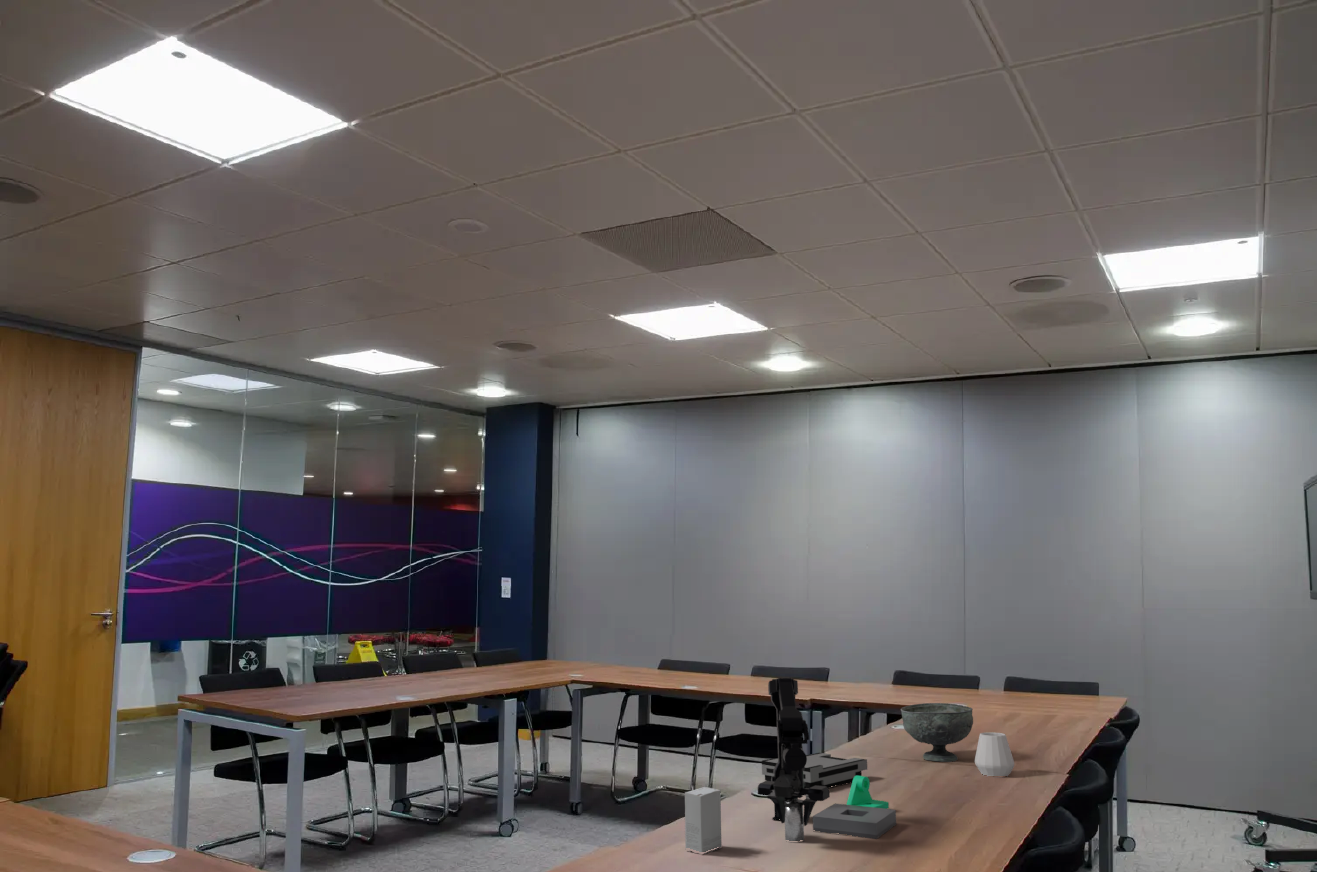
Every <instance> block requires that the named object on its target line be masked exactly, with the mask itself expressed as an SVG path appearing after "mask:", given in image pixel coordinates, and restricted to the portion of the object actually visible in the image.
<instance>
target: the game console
mask: <svg viewBox="0 0 1317 872" xmlns="http://www.w3.org/2000/svg"><path fill="white" fill-rule="evenodd" d="M831 755H832V754H831V753H823V752H816V753H811V754H806V757H807V762H806V765H805V766H804V767H805V771H803V778H804V782H805V787H804V788H811V787H813V786H815V785H816V786H826V787H831V786H835V785H840V786H843V785H842V784H844V785H847V784H846V783H848V784H851V783H850V782H852V781H853V778H854V777H855V776H856V775H857V776H863V775H862V771H866V770H868V759H866V758H859V757H851V758H841V757H834V756H831ZM777 762H778V757H773V758H768V759H764V760H763V759H762V760H761V775H763V776H764V781H771V777H772V776H773V770H774V768H775V766H776V764H777Z"/></svg>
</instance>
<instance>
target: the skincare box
mask: <svg viewBox="0 0 1317 872" xmlns="http://www.w3.org/2000/svg"><path fill="white" fill-rule="evenodd" d="M721 794H722V793H721V789H716V788H713V787H708V786H703V787H700V788H696V789H694V790H690V791H685V792H684V819H685V820H684V822H685V823H684V824H685V825H684V827H685V828H684V829H685V831H684V832H685V833H684V835H685V836H684V837H685V839H684V841H685V849H686V848H690V849H693V850H696V851H699V852H706V851H708V850H711V849H714V848H717V847H722V846H723V845H722V843H723V842H722V806H721V803H722V802H721V801H722V800H721V799H722V796H721ZM722 848H723V847H722Z"/></svg>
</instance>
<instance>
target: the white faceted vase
mask: <svg viewBox="0 0 1317 872" xmlns="http://www.w3.org/2000/svg"><path fill="white" fill-rule="evenodd" d="M974 764H975V766H976V768H977V770H978V771H979V772H980V774H981V775H982V774H983V775H982V776H984V775H987V776H986V777H988V776H1007V777H1009V776H1010V775H1009V774H1011V773H1012V771H1013V770H1014V767H1015V760H1014V757H1013V755H1012V751H1011V747H1010V745H1009V741H1008V738H1007V735H1006V734H1005V733H1001V732H994V731H993V732H992V731H991V732H986V731H985V732H980V733H979V737H978V740H977V747H976V751H975V757H974ZM1008 775H1009V776H1008Z"/></svg>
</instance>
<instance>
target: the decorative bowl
mask: <svg viewBox="0 0 1317 872" xmlns="http://www.w3.org/2000/svg"><path fill="white" fill-rule="evenodd" d="M900 711H901V719H902V722H903V723H902V724H903V725H902V726H903V728H904V730H905V732H906V733H907V734H908V735H910V737H912V738H913V739H914V740H915V741H917V742H919V743H920V744H922V743H923V744H927V745H931V746H932V750H930V751H926V752H923V754H922V758H923V760H924V759H925V761H931V762H932V761H933V762H942V763H943V762H944V763H951V762H952V761H953V762H957V761H958V758H959V757H958V756H957V755H956V754H955V753H953V752H951V751H948V750H947V748H946V747H947V745H951V744H956V743H959V742H961V741H962V740H965V738H967V737H968V736H969V734H970V733H971V731H972V728H973V724H974V717H973V707H969V706H966V705H962V704H956V703H949V702H948V703H947V702H946V703H945V702H926V703H925V702H923V703H918V704H917V703H916V704H910V705H906V706H903V707H901V708H900ZM956 760H957V761H956Z"/></svg>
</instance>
